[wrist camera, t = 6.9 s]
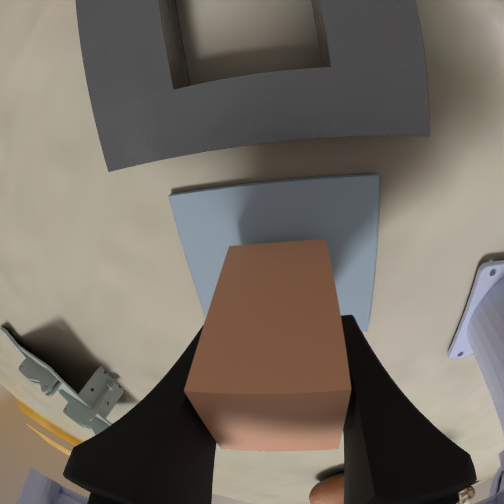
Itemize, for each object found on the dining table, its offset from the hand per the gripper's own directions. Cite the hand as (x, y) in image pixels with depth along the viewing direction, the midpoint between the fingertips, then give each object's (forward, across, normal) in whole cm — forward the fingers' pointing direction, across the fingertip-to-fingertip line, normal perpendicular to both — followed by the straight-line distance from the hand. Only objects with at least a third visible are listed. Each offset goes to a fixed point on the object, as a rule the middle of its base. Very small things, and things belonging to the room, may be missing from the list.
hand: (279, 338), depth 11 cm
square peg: (+3, 0, 0) cm, 3 cm away
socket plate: (+4, 0, -12) cm, 12 cm away
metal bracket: (+5, +22, +12) cm, 25 cm away
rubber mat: (+4, 0, 0) cm, 4 cm away
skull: (+5, -54, +96) cm, 110 cm away
